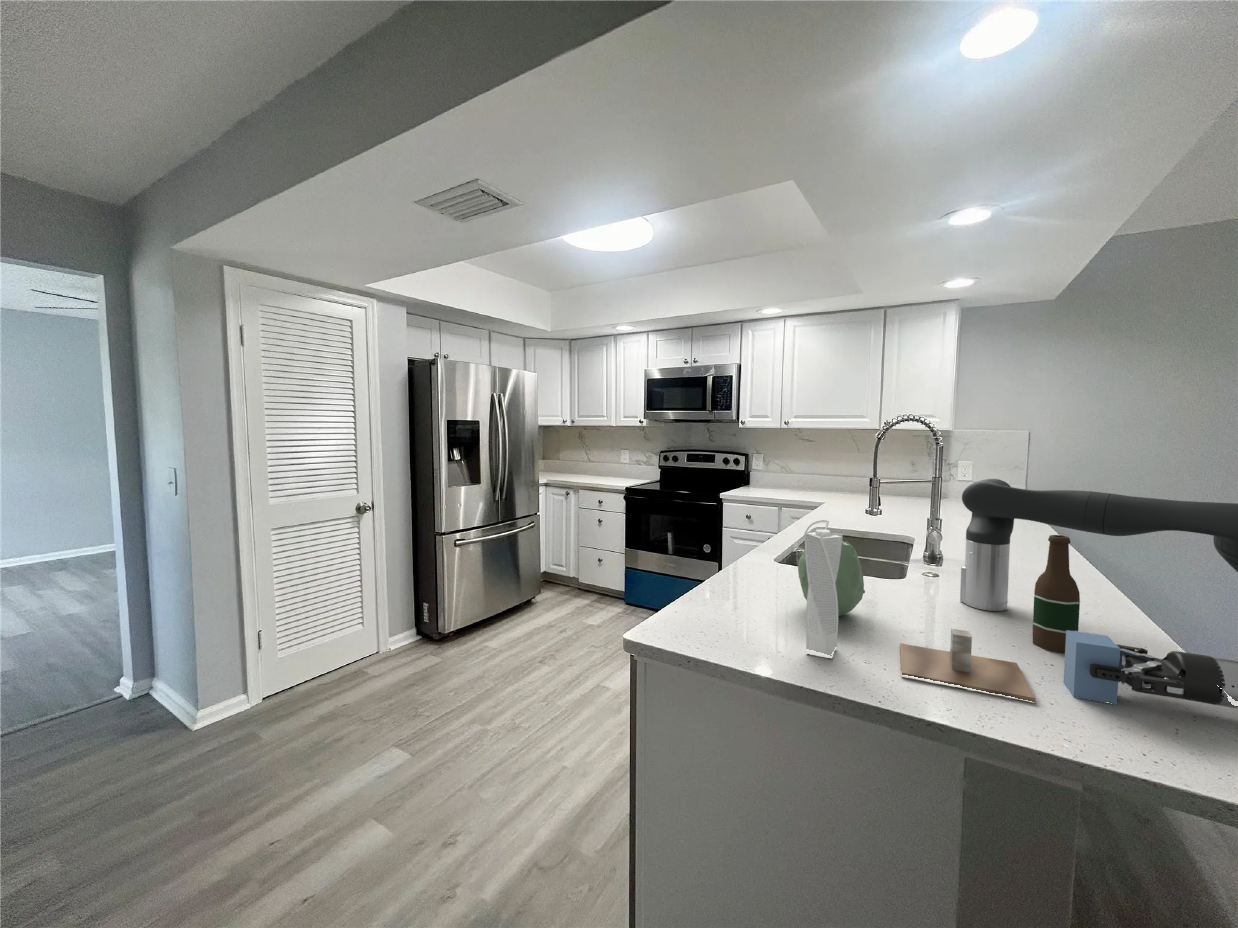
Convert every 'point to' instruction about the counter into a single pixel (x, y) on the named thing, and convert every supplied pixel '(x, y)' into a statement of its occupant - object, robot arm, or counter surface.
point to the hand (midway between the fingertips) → (1082, 659)
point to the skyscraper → (822, 588)
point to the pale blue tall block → (1077, 666)
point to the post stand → (965, 668)
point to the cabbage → (841, 579)
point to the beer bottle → (1055, 599)
